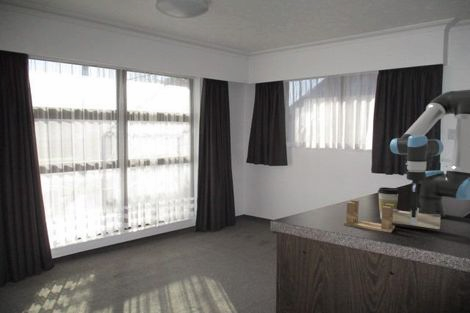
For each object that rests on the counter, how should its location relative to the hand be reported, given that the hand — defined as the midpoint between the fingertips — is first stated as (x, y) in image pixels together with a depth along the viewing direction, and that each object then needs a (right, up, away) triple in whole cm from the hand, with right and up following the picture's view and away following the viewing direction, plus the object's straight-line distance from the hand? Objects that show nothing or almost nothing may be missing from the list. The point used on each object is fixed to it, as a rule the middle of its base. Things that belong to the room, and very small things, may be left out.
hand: (414, 223), depth 162 cm
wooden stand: (-19, -2, +2) cm, 20 cm away
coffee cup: (-5, -1, +18) cm, 18 cm away
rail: (0, -1, 0) cm, 1 cm away
